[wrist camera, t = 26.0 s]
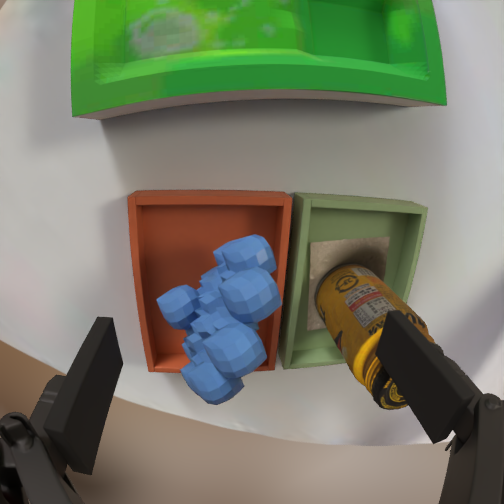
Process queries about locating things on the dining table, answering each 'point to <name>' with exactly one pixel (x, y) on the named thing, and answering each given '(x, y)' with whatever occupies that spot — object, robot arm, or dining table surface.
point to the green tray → (338, 228)
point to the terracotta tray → (198, 256)
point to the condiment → (357, 308)
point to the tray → (252, 53)
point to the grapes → (225, 317)
